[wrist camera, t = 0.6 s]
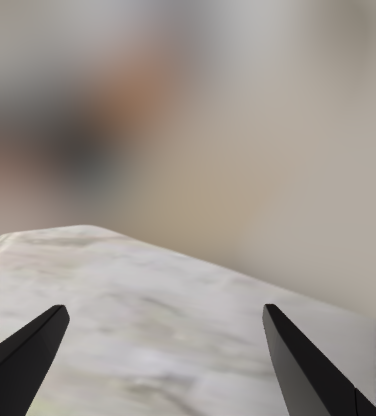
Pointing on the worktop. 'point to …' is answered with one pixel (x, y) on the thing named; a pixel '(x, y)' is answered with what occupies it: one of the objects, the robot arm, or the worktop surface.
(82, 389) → the worktop surface
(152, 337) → the worktop surface
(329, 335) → the worktop surface
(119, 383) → the worktop surface
